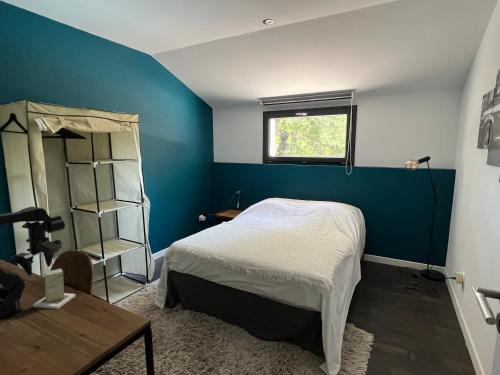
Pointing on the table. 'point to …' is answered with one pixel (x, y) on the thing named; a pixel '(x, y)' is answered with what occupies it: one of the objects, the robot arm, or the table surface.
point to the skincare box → (54, 285)
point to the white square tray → (54, 302)
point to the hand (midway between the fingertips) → (39, 270)
